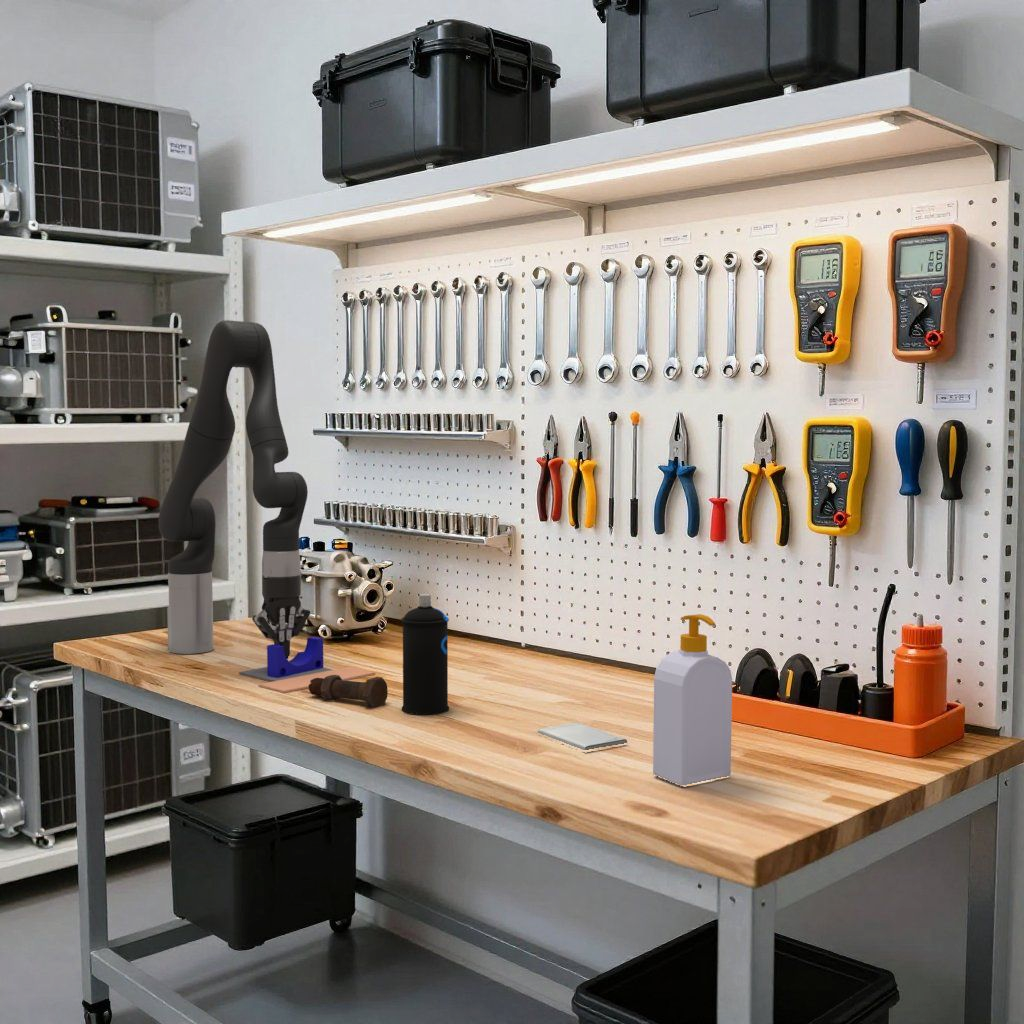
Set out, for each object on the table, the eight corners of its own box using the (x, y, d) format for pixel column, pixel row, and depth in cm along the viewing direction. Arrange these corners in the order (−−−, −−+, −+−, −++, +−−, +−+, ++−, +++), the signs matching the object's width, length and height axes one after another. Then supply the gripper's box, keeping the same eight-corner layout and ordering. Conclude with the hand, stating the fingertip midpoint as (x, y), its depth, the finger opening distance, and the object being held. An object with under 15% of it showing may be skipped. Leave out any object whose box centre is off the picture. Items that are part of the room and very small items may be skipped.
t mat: (221, 677, 224) (221, 675, 224) (312, 660, 240) (312, 658, 240) (284, 693, 211) (284, 690, 211) (375, 674, 227) (375, 672, 227)
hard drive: (627, 738, 176) (579, 721, 187) (584, 746, 172) (537, 728, 182) (627, 749, 176) (579, 731, 187) (584, 757, 172) (537, 738, 182)
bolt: (316, 705, 209) (382, 713, 202) (300, 697, 205) (366, 704, 198) (326, 675, 211) (391, 682, 204) (309, 666, 208) (375, 672, 200)
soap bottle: (685, 790, 154) (687, 621, 153) (652, 777, 160) (654, 614, 158) (735, 779, 159) (737, 615, 157) (701, 767, 165) (703, 608, 163)
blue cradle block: (307, 665, 234) (307, 635, 233) (323, 667, 231) (323, 638, 231) (262, 675, 224) (261, 644, 224) (277, 678, 221) (277, 647, 221)
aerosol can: (409, 717, 193) (408, 599, 192) (395, 706, 201) (395, 592, 199) (455, 712, 196) (455, 596, 195) (440, 702, 204) (440, 590, 202)
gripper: (296, 568, 235) (297, 652, 236) (242, 574, 225) (242, 661, 226) (319, 571, 230) (320, 657, 231) (264, 577, 220) (265, 667, 221)
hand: (282, 659), depth 229 cm, fingers closed
